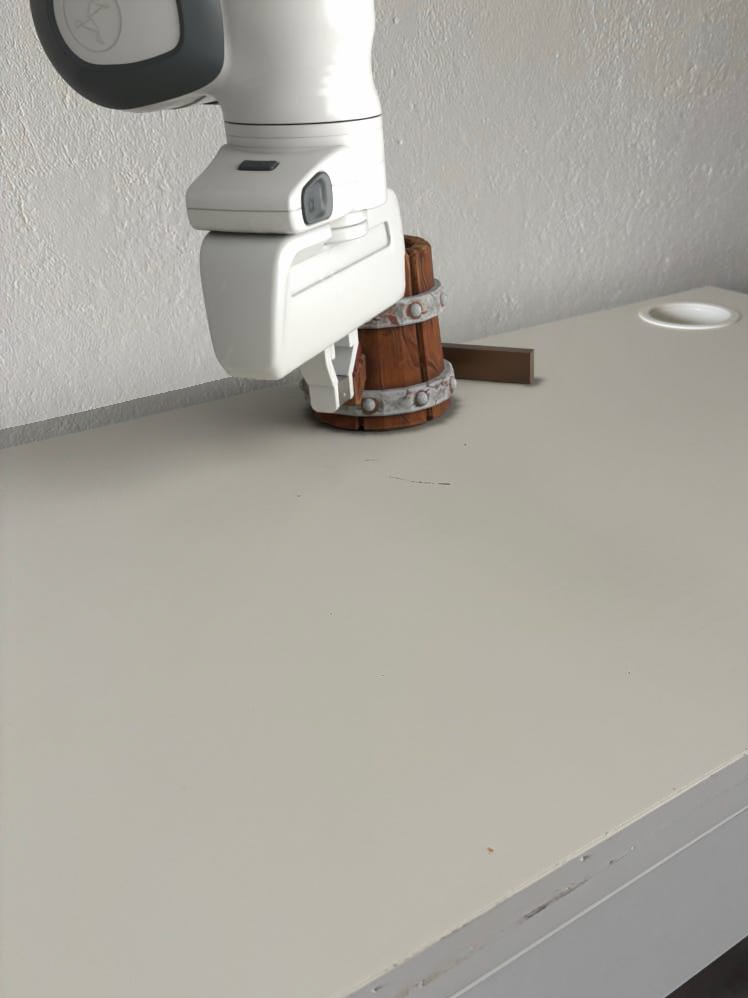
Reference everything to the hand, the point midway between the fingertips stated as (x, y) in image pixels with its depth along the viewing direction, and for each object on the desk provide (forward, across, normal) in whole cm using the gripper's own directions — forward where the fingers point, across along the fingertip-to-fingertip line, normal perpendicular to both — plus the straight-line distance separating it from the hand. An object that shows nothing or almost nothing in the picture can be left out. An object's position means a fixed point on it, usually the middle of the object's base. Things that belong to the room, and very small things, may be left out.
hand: (333, 405), depth 67 cm
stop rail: (+4, -20, +1) cm, 21 cm away
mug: (+4, -10, -1) cm, 11 cm away
